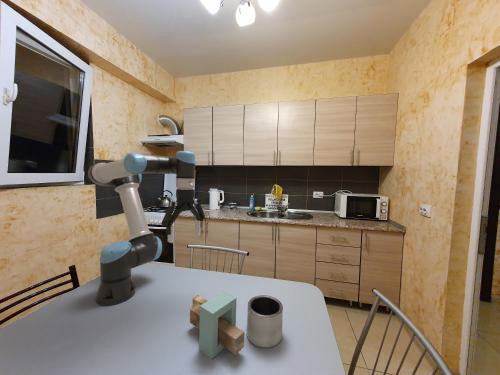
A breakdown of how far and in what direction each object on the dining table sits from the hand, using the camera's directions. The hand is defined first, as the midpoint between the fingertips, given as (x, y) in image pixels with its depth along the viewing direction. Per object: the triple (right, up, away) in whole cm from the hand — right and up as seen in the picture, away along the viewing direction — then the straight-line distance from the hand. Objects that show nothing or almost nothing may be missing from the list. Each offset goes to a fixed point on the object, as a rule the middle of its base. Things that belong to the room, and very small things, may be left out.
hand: (184, 238), depth 90 cm
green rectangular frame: (+17, -31, -19) cm, 40 cm away
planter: (+33, -31, -15) cm, 48 cm away
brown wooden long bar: (+16, -28, -18) cm, 37 cm away
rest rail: (+9, -29, -3) cm, 31 cm away
